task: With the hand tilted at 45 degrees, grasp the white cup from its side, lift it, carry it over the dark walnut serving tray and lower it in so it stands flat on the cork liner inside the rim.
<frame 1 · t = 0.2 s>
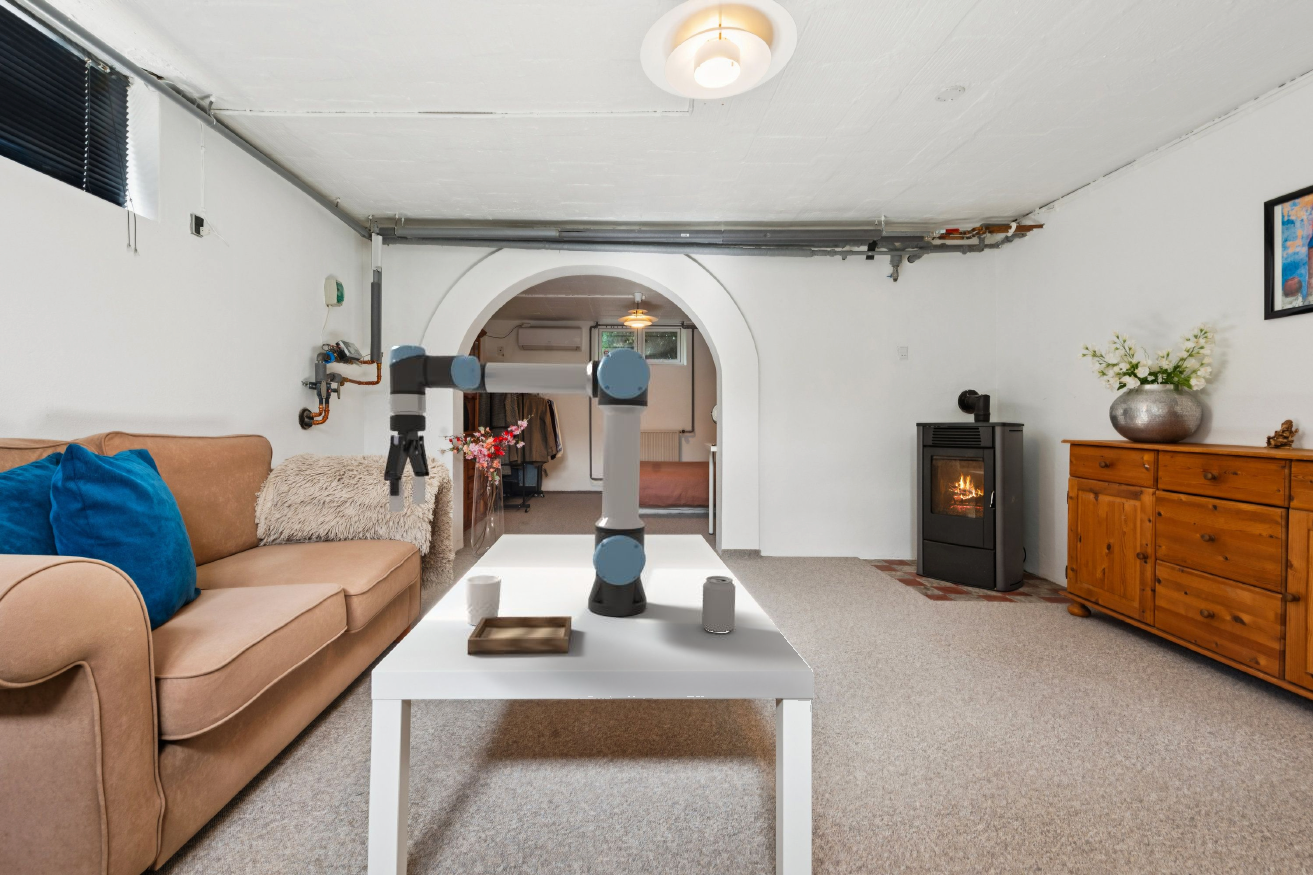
hand: (408, 507, 130), 27 cm above the table, tool pointing down, fingers open, 13 cm apart
can: (718, 630, 133), on the table
walnut tray: (522, 641, 123), on the table
white cup: (482, 622, 135), on the table
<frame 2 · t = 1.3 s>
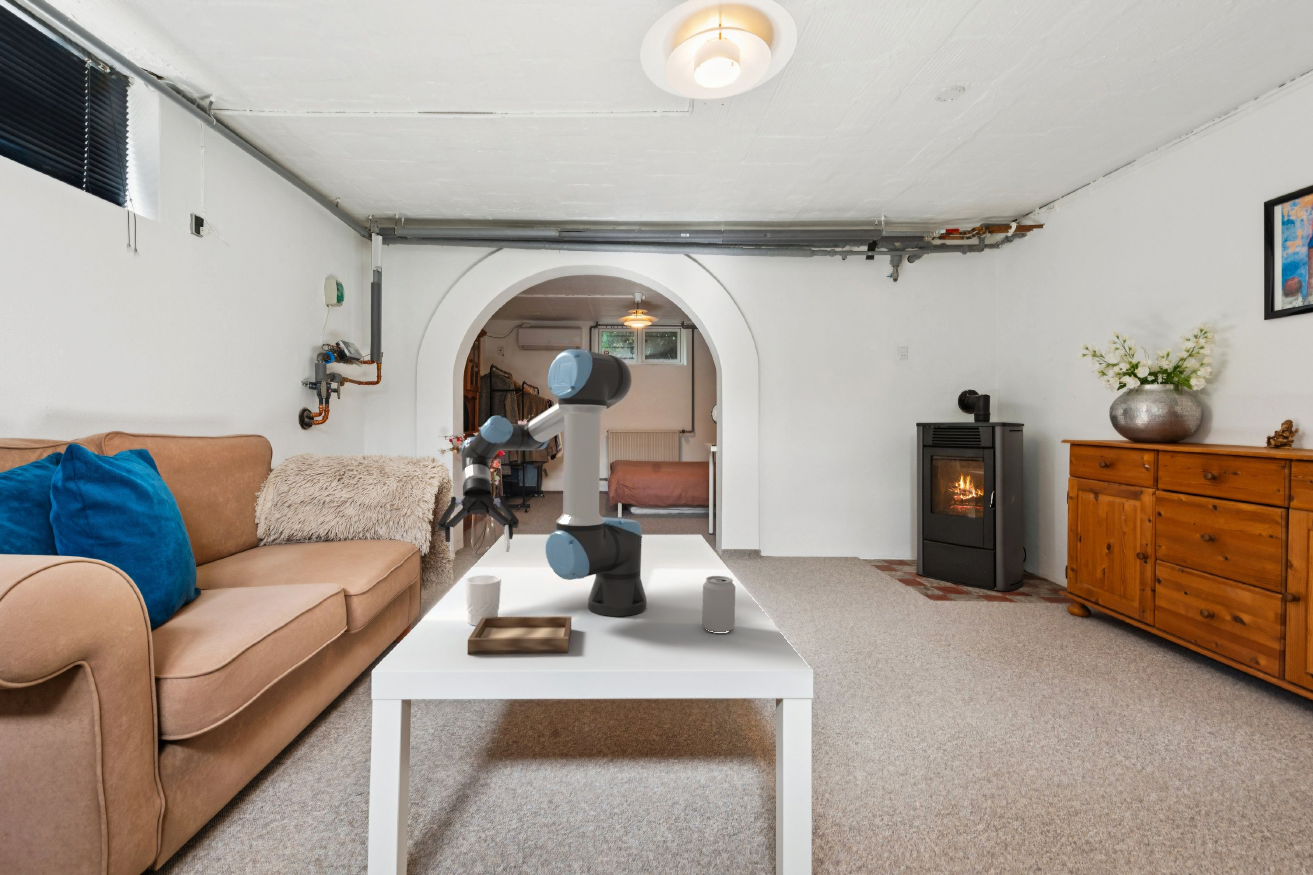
hand: (480, 550, 144), 15 cm above the table, tool tilted 45°, fingers open, 13 cm apart
nothing on the table moved.
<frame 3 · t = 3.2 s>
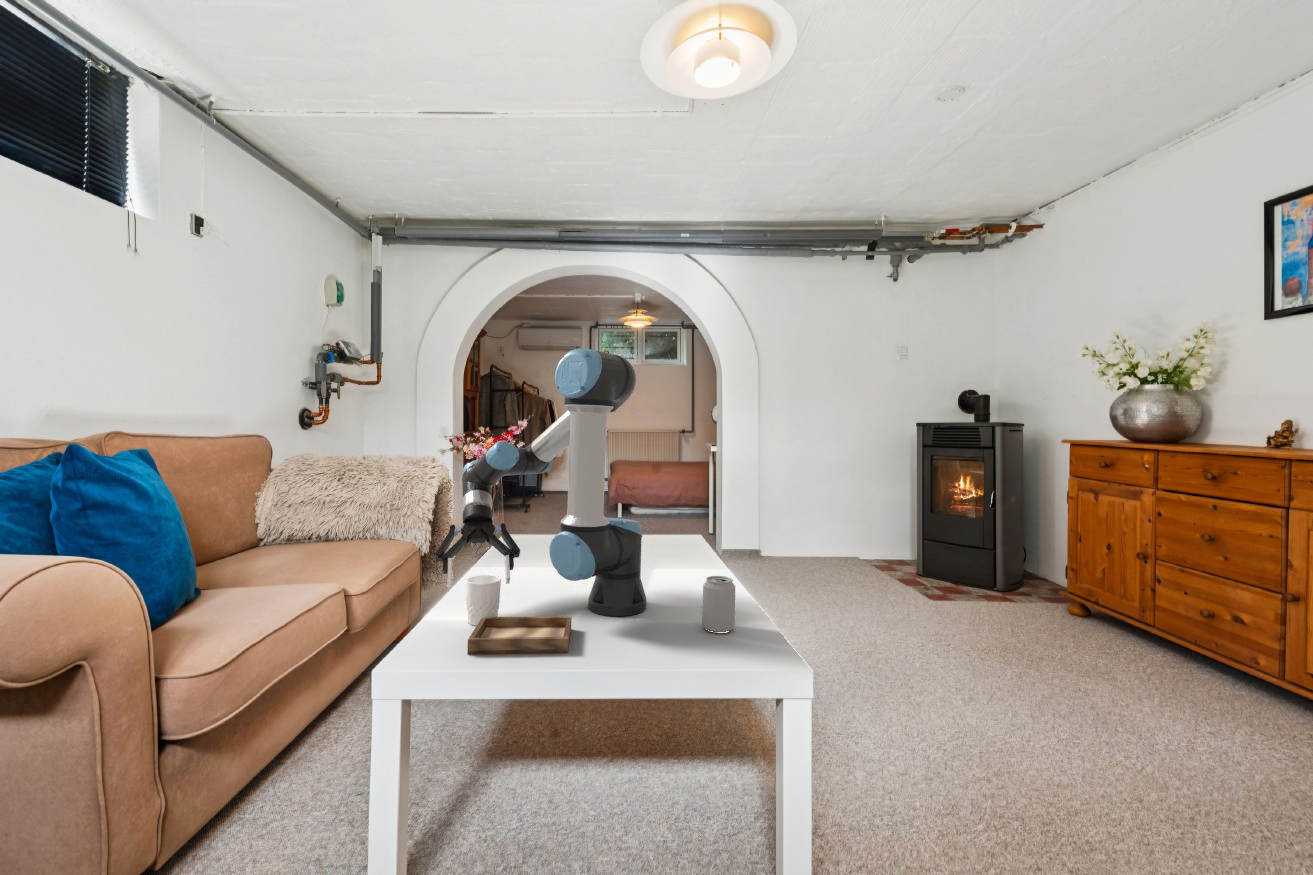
hand: (479, 582, 137), 8 cm above the table, tool tilted 45°, fingers open, 13 cm apart
nothing on the table moved.
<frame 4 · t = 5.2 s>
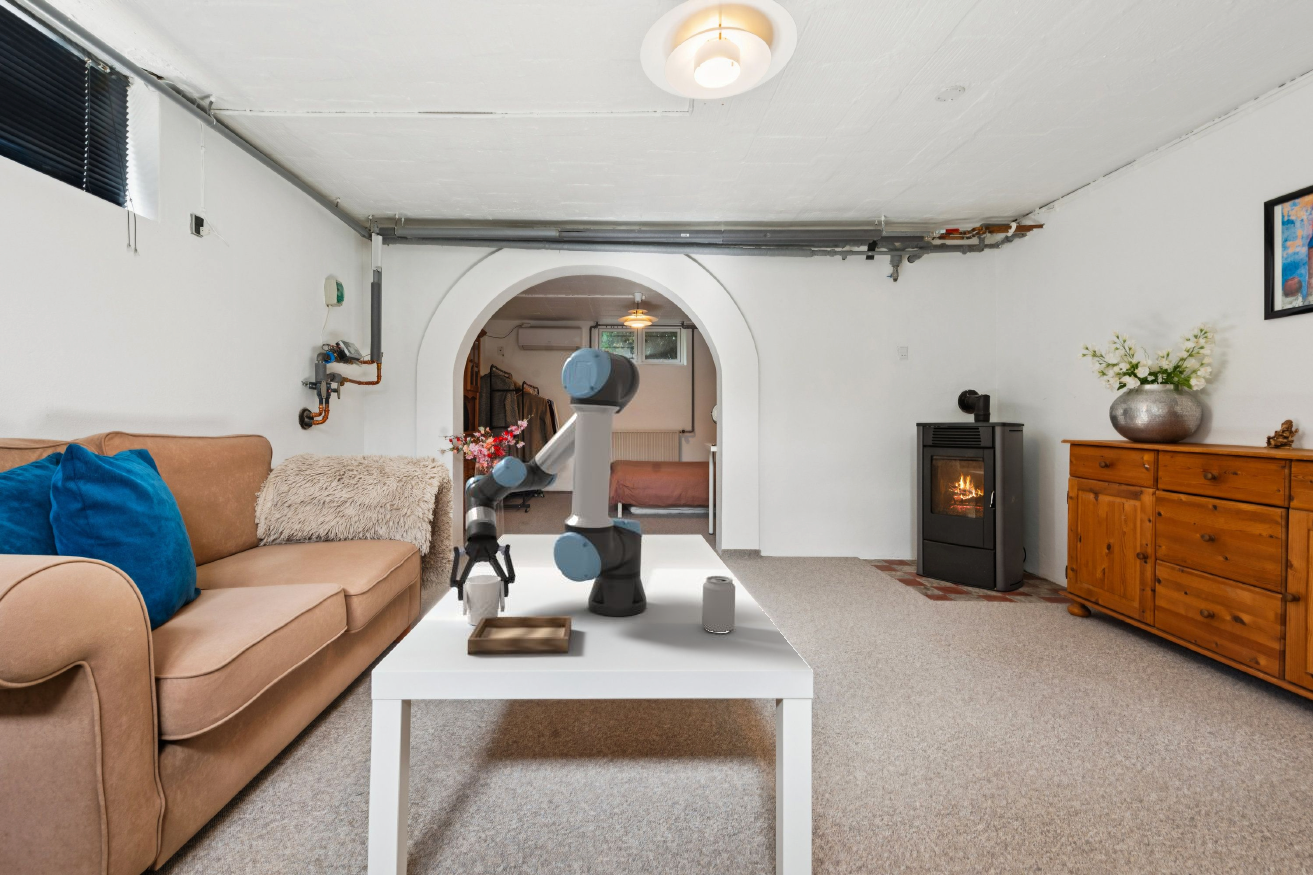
hand: (484, 610, 131), 4 cm above the table, tool tilted 45°, fingers closed on white cup, 8 cm apart
white cup: (482, 622, 135), on the table, touching gripper
everything else where it was.
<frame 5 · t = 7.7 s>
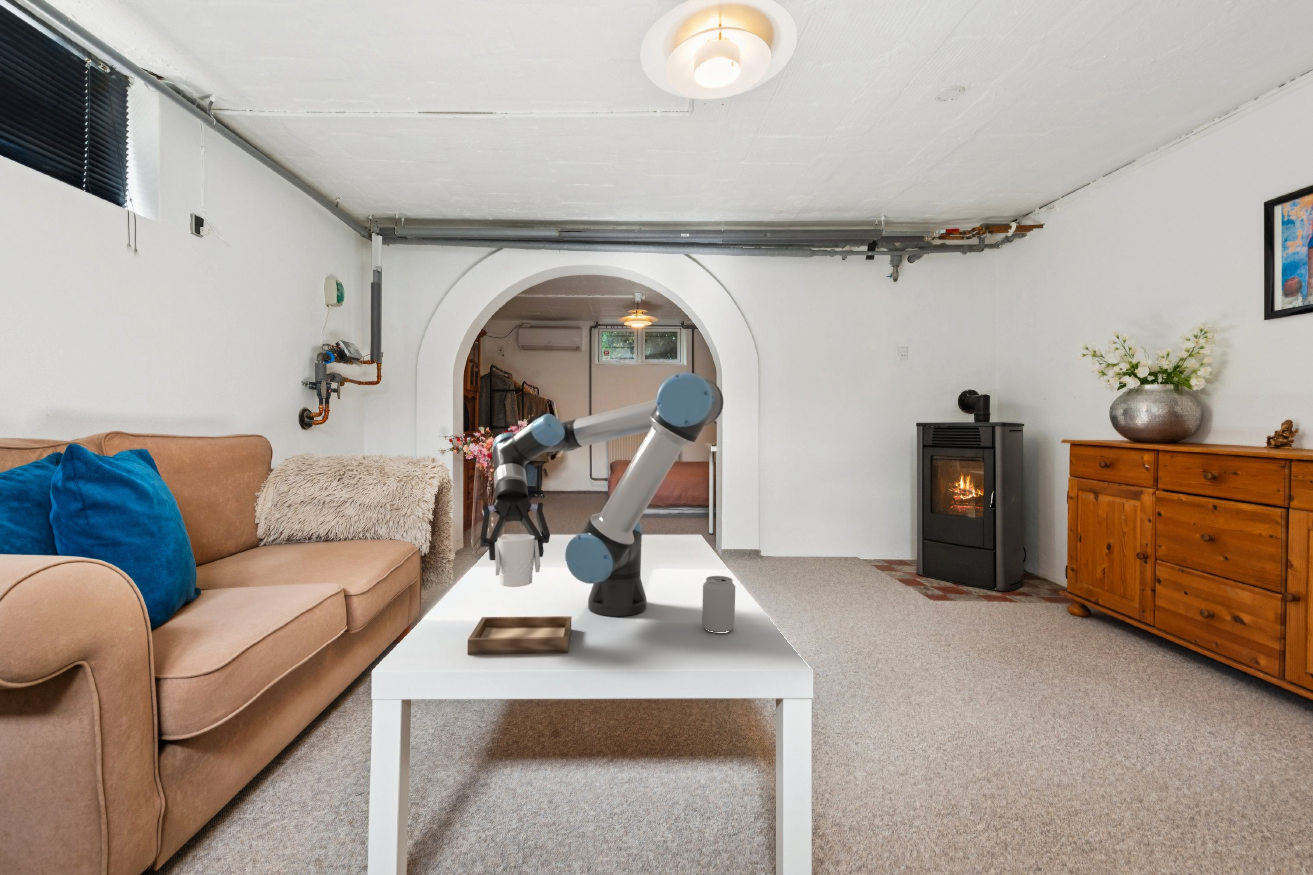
hand: (518, 570, 121), 16 cm above the table, tool tilted 45°, fingers closed on white cup, 8 cm apart
white cup: (516, 584, 124), point 12 cm above the table, touching gripper
everything else where it was.
when the fingers open (6 cm above the table, at t = 10.1 s): white cup drops 1 cm, resting on walnut tray.
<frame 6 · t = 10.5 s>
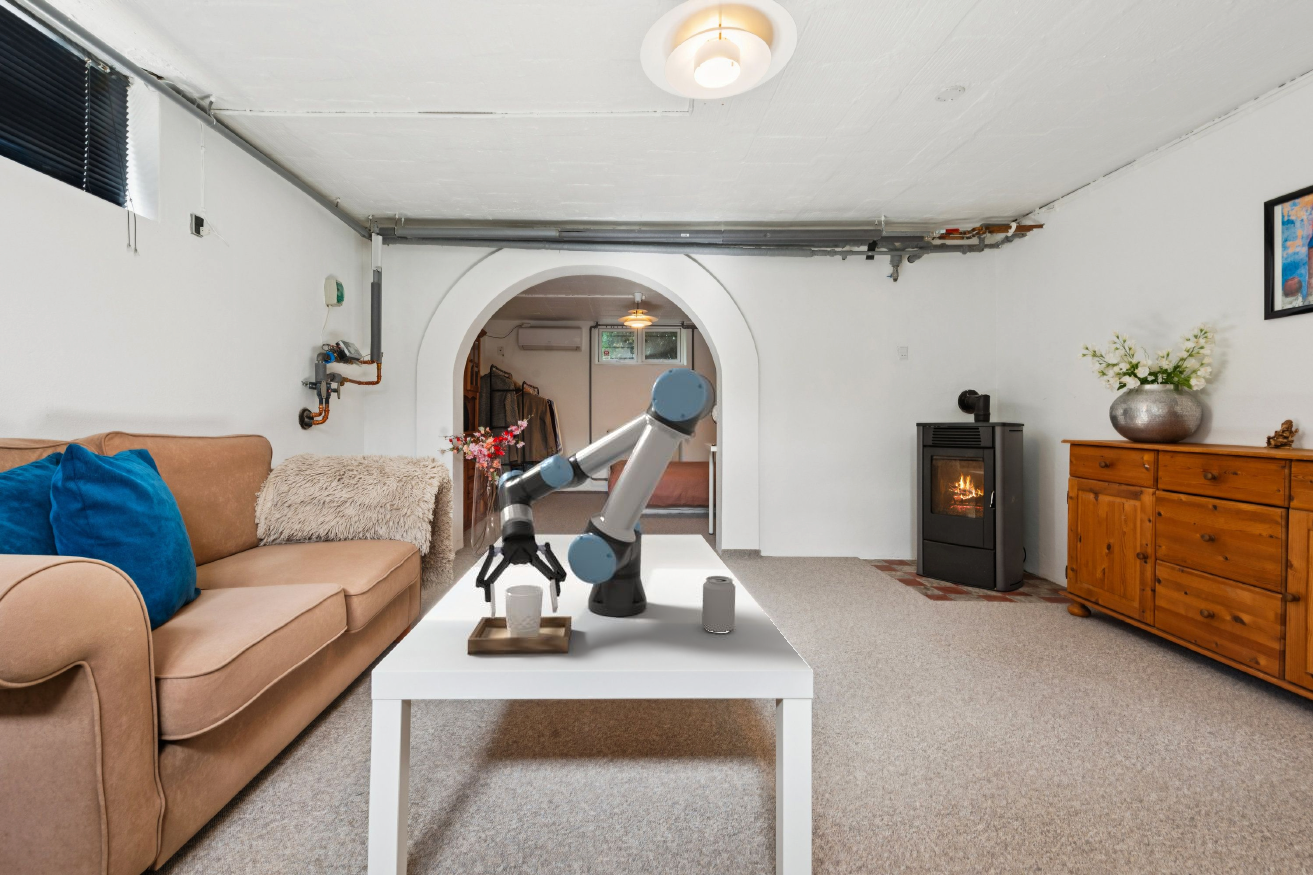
hand: (524, 612, 120), 7 cm above the table, tool tilted 45°, fingers open, 12 cm apart
white cup: (523, 637, 123), point 1 cm above the table, touching walnut tray
everything else where it was.
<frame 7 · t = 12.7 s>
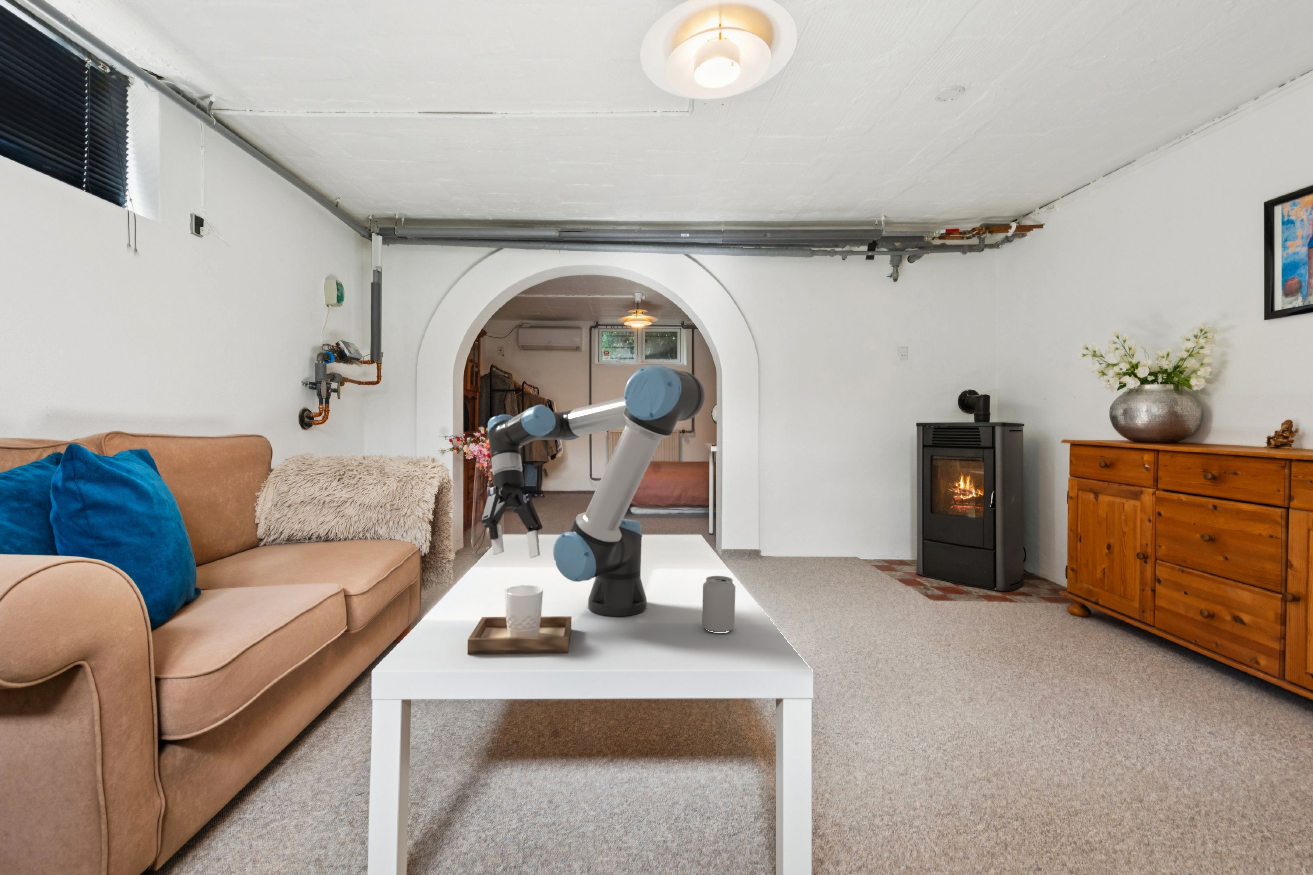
hand: (517, 555, 139), 15 cm above the table, tool tilted 25°, fingers open, 13 cm apart
nothing on the table moved.
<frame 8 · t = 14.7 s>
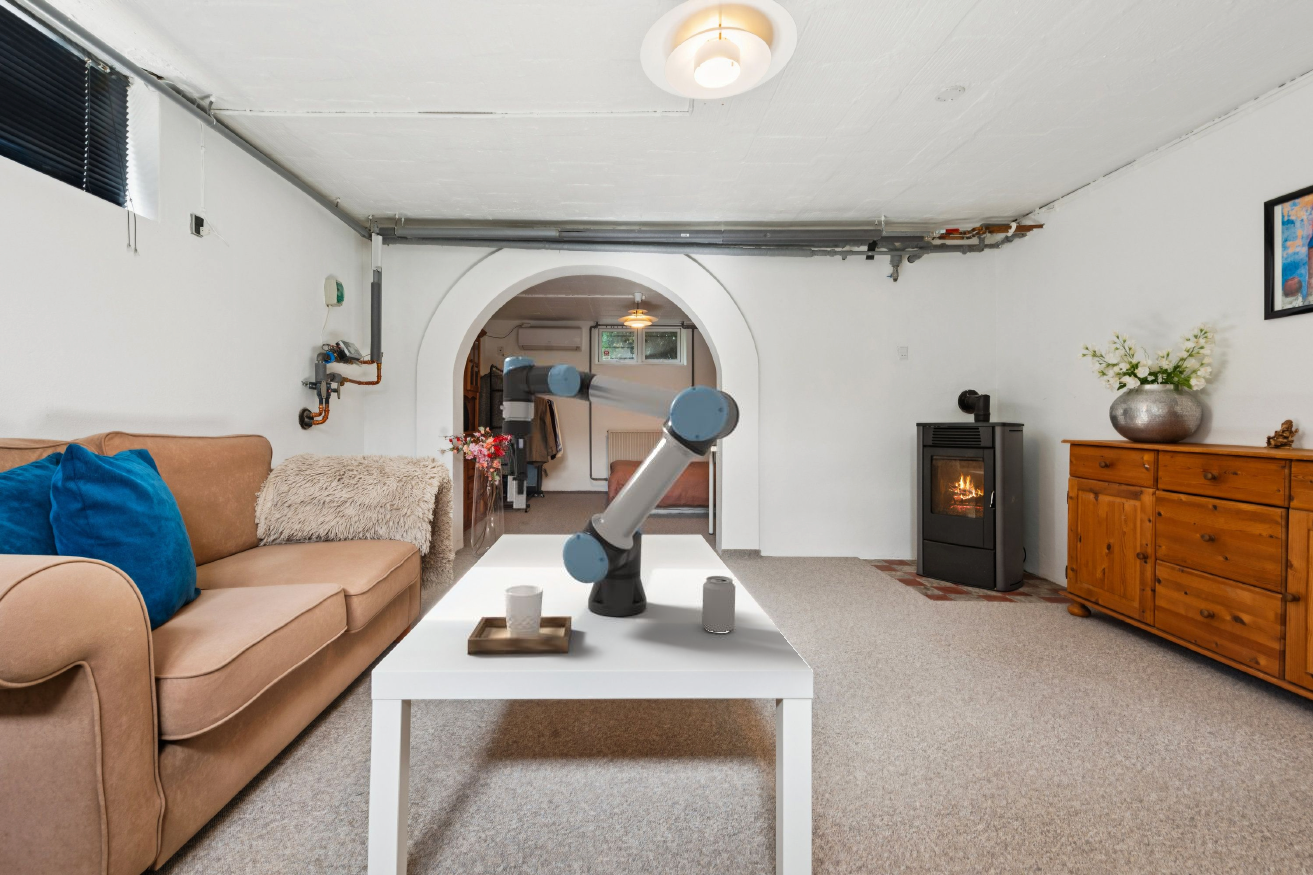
hand: (516, 504, 143), 27 cm above the table, tool pointing down, fingers open, 13 cm apart
nothing on the table moved.
at the end: white cup inside the target area on the walnut tray (0.1 cm from its centre), point 0.8 cm above the walnut tray's base; white cup tilted 0°; the gripper is holding nothing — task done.
